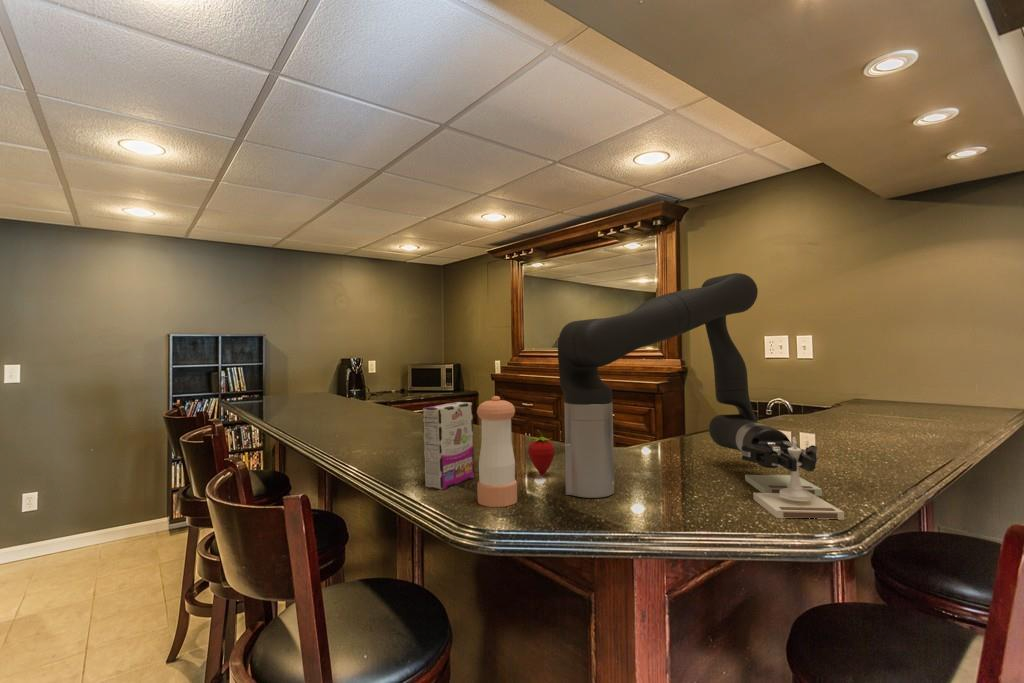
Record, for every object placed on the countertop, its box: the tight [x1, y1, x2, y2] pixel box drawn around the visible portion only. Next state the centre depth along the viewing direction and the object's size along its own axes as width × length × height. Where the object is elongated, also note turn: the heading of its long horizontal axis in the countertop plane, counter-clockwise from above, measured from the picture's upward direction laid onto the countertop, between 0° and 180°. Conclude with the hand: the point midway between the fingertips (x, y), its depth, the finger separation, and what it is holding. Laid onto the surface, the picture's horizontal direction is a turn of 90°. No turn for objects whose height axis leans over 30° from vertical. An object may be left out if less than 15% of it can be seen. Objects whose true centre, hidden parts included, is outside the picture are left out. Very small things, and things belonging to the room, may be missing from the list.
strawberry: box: [527, 429, 556, 476], centre depth 107 cm, size 6×8×10 cm
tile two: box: [744, 474, 823, 497], centre depth 94 cm, size 10×10×1 cm
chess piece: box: [779, 436, 813, 501], centre depth 82 cm, size 5×5×10 cm
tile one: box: [752, 492, 845, 521], centre depth 82 cm, size 10×10×1 cm
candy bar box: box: [422, 401, 475, 490], centre depth 103 cm, size 11×5×16 cm, turn 148°
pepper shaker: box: [476, 395, 518, 508], centre depth 89 cm, size 7×7×19 cm
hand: (803, 465), depth 79 cm, fingers closed on chess piece
